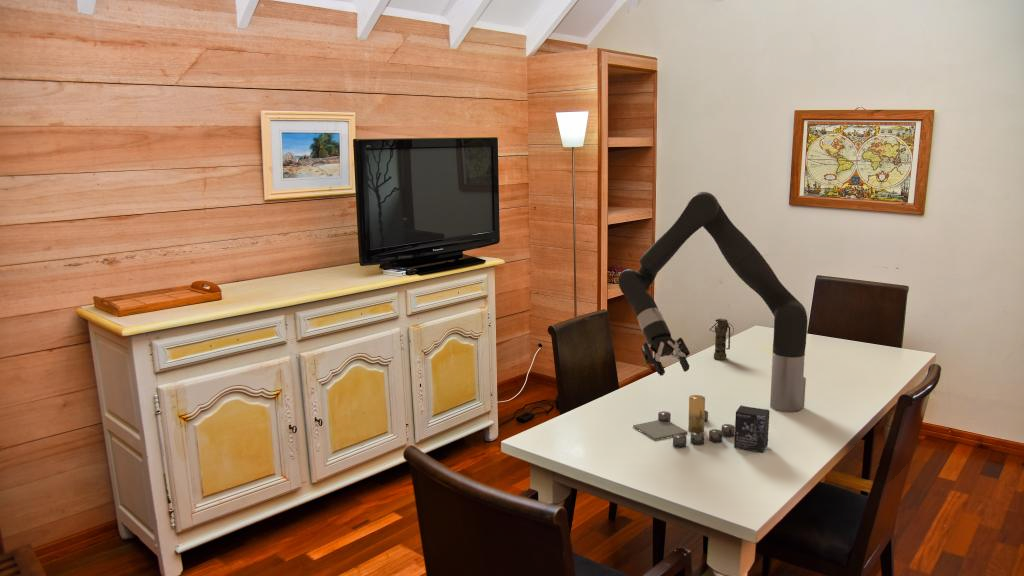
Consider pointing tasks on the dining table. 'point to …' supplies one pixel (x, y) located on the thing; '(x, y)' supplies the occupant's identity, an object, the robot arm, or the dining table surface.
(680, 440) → the spacers
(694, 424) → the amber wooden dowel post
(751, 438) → the box
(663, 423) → the pad
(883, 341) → the dining table surface
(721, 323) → the grenade
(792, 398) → the robot arm
